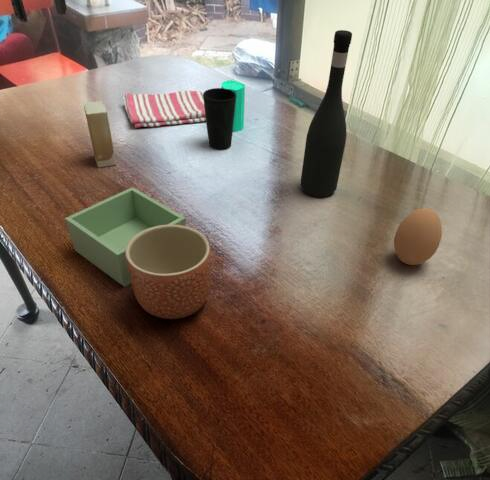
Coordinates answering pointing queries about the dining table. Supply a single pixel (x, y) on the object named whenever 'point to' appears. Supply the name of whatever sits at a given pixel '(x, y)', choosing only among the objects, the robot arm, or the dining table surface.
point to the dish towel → (165, 108)
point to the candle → (237, 102)
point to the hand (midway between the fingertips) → (43, 17)
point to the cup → (219, 117)
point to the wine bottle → (327, 129)
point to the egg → (418, 236)
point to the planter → (169, 270)
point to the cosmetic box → (100, 133)
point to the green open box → (116, 229)
